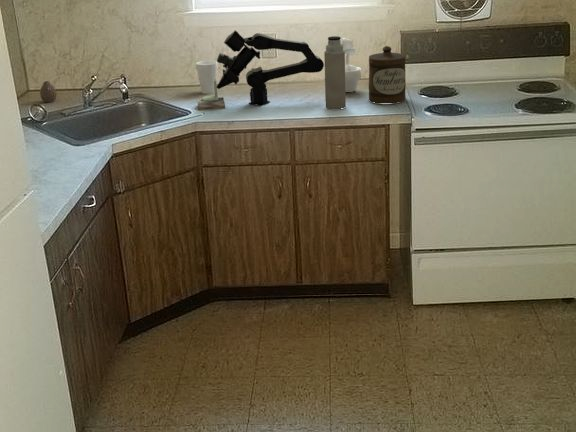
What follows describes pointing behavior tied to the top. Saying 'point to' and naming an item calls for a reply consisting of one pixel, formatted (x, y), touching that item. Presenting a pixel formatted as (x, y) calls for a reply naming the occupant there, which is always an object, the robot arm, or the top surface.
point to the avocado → (48, 92)
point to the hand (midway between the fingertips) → (217, 88)
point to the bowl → (202, 101)
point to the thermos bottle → (334, 74)
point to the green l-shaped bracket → (211, 98)
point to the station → (212, 104)
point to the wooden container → (387, 77)
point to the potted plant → (350, 67)
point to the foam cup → (207, 75)
